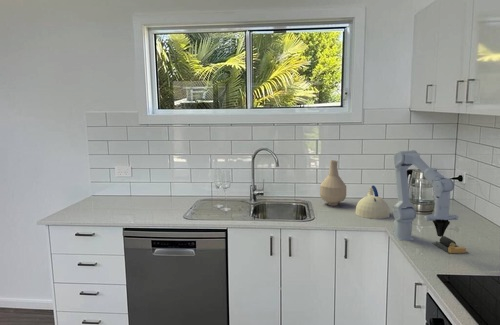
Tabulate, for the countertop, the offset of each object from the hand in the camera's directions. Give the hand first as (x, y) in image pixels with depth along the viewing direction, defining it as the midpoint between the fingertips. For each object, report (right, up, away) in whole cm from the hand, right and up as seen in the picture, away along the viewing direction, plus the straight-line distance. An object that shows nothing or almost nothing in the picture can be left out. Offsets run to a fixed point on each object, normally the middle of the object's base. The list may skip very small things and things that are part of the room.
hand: (440, 235), depth 168 cm
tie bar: (+8, -8, +2) cm, 12 cm away
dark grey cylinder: (+8, -7, +9) cm, 14 cm away
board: (+8, -8, +4) cm, 12 cm away
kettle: (-9, 0, +66) cm, 66 cm away
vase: (-28, +4, +90) cm, 94 cm away
